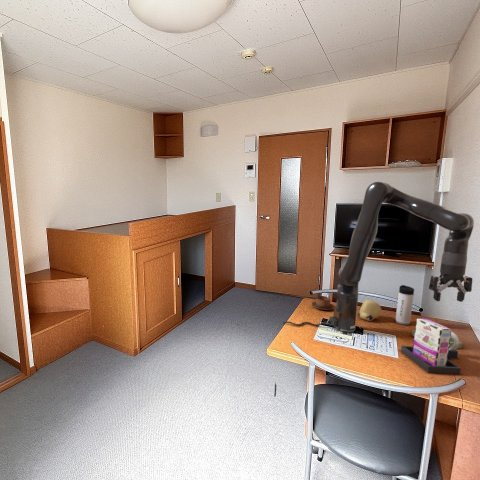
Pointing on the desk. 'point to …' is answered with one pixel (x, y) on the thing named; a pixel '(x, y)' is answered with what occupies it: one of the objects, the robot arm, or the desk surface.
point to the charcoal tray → (447, 369)
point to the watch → (453, 347)
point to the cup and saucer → (323, 303)
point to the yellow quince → (369, 310)
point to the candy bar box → (431, 342)
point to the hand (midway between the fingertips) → (448, 300)
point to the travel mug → (404, 305)
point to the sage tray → (450, 340)
